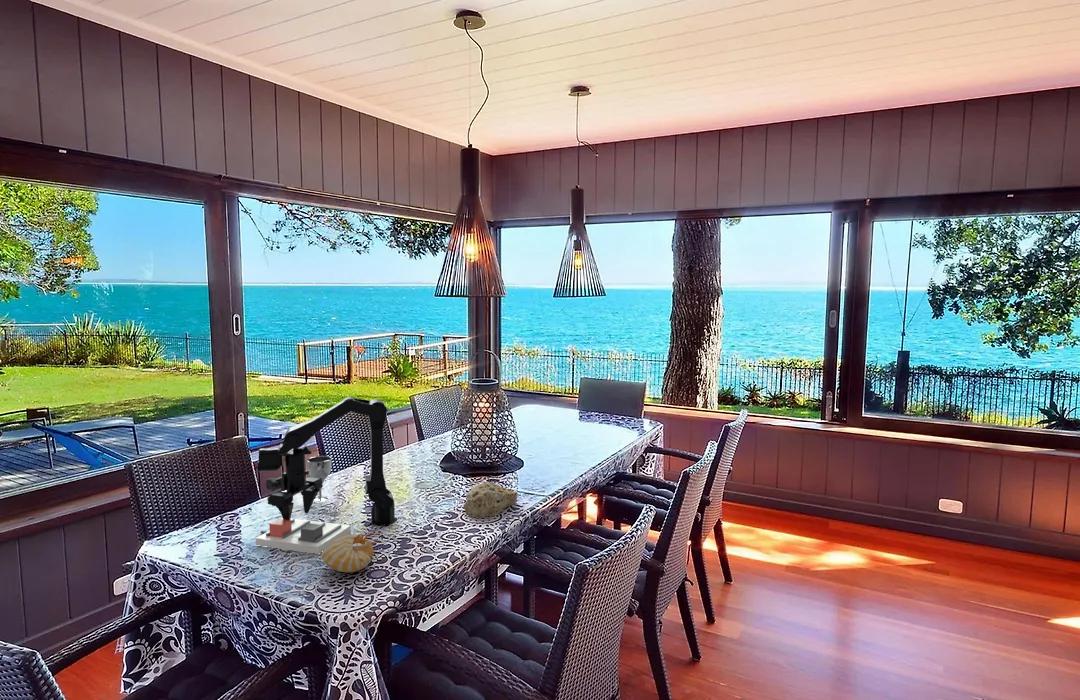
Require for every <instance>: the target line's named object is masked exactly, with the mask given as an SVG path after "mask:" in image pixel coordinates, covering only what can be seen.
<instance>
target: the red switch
mask: <svg viewBox="0 0 1080 700" xmlns="http://www.w3.org/2000/svg"><path fill="white" fill-rule="evenodd" d="M268 525H269V531H270V535H271V536H279V537H282V536H283V535H284V534H286V533H288V532H290V531H291V530H292V526H291V520H284V519H283V518H278V519H276V520H274V521H272V522H270V523H269V524H268Z"/></svg>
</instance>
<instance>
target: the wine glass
mask: <svg viewBox="0 0 1080 700" xmlns="http://www.w3.org/2000/svg"><path fill="white" fill-rule="evenodd" d="M306 461H307V470H309V474H308V475H309V477H310V478H320V479H321V480H322V482H323V483H324V481H326V479H327V478H328V477H329V475H330V473H331V469H332V457H331V456H329V455H317V456H311V457H309V458H308V459H307V460H306ZM322 488H323V487H322ZM322 488H320V491H319V492H318V497H317V496H316V497H317V498H315V500H314V501H325V500H327V499H328V498H327V497H328V496H322Z"/></svg>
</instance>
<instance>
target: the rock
mask: <svg viewBox="0 0 1080 700" xmlns="http://www.w3.org/2000/svg"><path fill="white" fill-rule="evenodd" d="M465 498H466V500H465V503H464V504H463V508H464V510H465V511H464V512H465V513H466V514H467V515H468V517H469V518H476V517H478V518H477V519H485V517H488V516H489V517H494V516H497V515H498V514H500V513H502V511H504V510H505V509H506V508H508V507H510V506H512V505H515V504H516V501H517V499H518V492H517V491H514V490H513V489H510V488H506V487H504V486H501V485H498V484H495V482H493V481H492V482H489V481H485V482H483V483H479V484H477V486H476V485H475V486H472V487H470V490H469V491H468V492H467V494H466V496H465Z"/></svg>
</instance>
